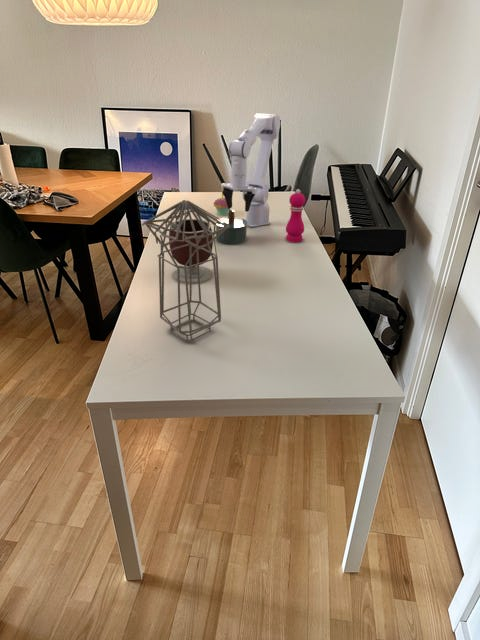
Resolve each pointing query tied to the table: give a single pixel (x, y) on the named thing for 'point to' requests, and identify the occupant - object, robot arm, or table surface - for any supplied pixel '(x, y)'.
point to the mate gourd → (184, 252)
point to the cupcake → (221, 206)
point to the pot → (232, 236)
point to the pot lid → (233, 221)
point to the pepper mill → (295, 218)
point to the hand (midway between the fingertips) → (238, 209)
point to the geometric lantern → (193, 208)
